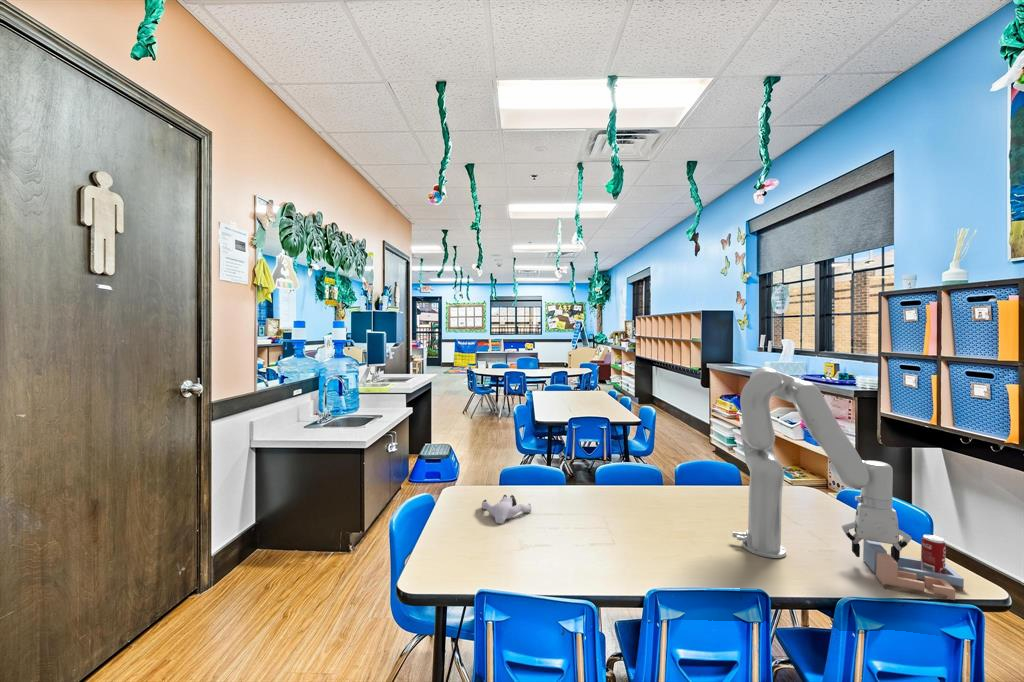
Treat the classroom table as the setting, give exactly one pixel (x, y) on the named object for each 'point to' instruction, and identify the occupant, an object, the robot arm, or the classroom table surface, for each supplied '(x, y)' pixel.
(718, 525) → the classroom table surface
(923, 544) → the soda can
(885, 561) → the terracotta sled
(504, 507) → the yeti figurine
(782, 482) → the robot arm
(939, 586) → the broken frame end
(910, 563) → the frame
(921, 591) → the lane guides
